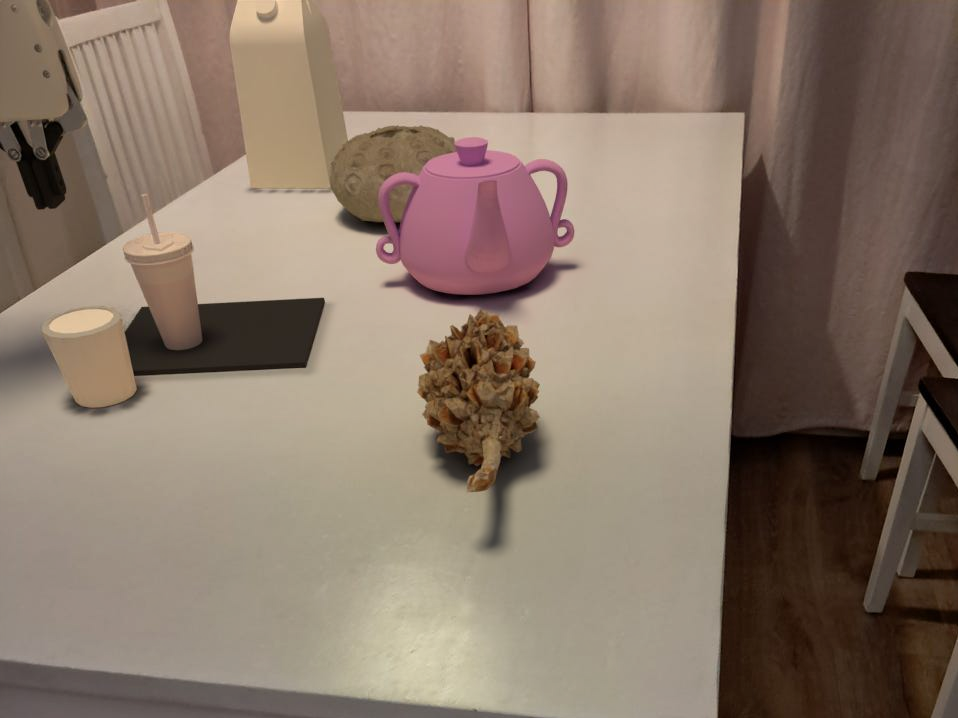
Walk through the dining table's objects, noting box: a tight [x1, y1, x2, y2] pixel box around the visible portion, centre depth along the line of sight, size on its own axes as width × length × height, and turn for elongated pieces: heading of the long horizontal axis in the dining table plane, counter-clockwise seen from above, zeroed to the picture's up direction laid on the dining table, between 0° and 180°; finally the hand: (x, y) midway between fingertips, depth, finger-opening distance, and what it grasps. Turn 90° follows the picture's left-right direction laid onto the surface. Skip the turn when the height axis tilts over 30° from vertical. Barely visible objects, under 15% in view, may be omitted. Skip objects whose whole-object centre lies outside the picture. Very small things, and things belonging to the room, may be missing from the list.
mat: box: [124, 297, 326, 376], centre depth 94 cm, size 20×16×1 cm
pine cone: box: [416, 308, 541, 493], centre depth 69 cm, size 22×10×10 cm, turn 6°
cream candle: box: [41, 305, 138, 409], centre depth 84 cm, size 7×7×7 cm
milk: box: [229, 0, 349, 189], centre depth 128 cm, size 12×12×26 cm
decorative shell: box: [330, 124, 457, 224], centre depth 118 cm, size 18×18×10 cm
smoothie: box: [122, 193, 202, 350], centre depth 88 cm, size 6×6×14 cm
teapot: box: [375, 136, 575, 296], centre depth 97 cm, size 22×22×14 cm
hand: (51, 204), depth 84 cm, fingers closed
